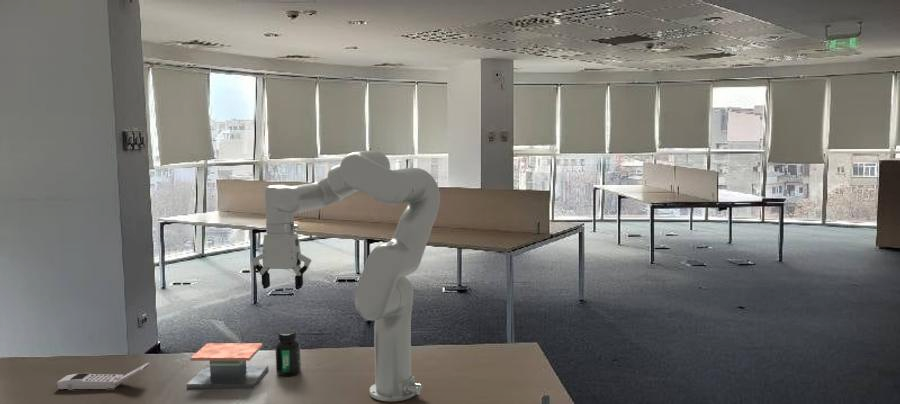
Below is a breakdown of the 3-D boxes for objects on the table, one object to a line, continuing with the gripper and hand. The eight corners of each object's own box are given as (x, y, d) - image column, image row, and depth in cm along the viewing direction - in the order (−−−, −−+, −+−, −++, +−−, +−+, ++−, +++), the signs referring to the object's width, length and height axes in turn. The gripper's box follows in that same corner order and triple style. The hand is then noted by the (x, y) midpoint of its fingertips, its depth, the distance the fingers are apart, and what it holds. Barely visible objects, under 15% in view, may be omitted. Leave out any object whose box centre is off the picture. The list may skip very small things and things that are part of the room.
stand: (268, 369, 195) (267, 342, 194) (253, 388, 181) (251, 359, 180) (206, 369, 195) (205, 342, 194) (186, 388, 181) (185, 359, 181)
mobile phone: (142, 369, 180) (46, 370, 179) (143, 390, 181) (48, 392, 180) (151, 361, 186) (58, 363, 185) (152, 382, 187) (60, 383, 186)
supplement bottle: (289, 379, 188) (288, 337, 186) (271, 374, 191) (269, 333, 189) (306, 371, 193) (304, 330, 192) (288, 367, 197) (286, 327, 195)
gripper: (314, 227, 192) (316, 285, 194) (257, 226, 194) (259, 284, 196) (304, 231, 184) (306, 292, 186) (245, 230, 187) (248, 290, 189)
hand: (282, 288), depth 191 cm, fingers open, 9 cm apart
